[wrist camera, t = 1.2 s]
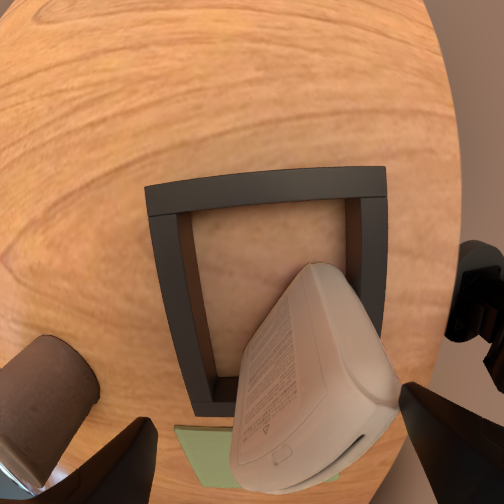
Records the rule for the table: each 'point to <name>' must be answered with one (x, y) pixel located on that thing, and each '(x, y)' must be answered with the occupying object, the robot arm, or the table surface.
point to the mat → (211, 454)
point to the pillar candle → (42, 406)
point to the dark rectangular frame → (253, 193)
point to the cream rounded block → (310, 387)
